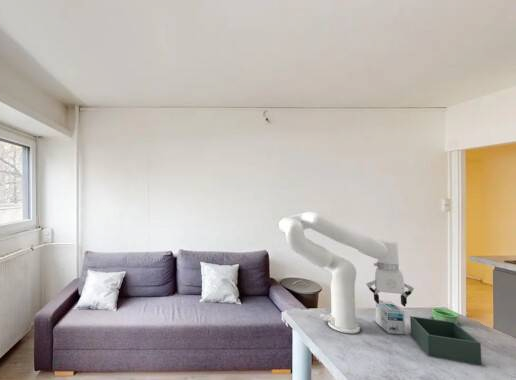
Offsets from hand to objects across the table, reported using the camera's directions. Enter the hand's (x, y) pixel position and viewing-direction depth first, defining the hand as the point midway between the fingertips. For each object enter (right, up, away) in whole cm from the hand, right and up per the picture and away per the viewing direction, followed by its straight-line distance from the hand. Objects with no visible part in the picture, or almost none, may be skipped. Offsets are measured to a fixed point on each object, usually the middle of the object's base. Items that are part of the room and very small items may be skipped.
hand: (390, 303), depth 120 cm
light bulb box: (0, -11, 0) cm, 11 cm away
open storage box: (+8, -11, -16) cm, 21 cm away
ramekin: (+30, -11, +5) cm, 33 cm away
